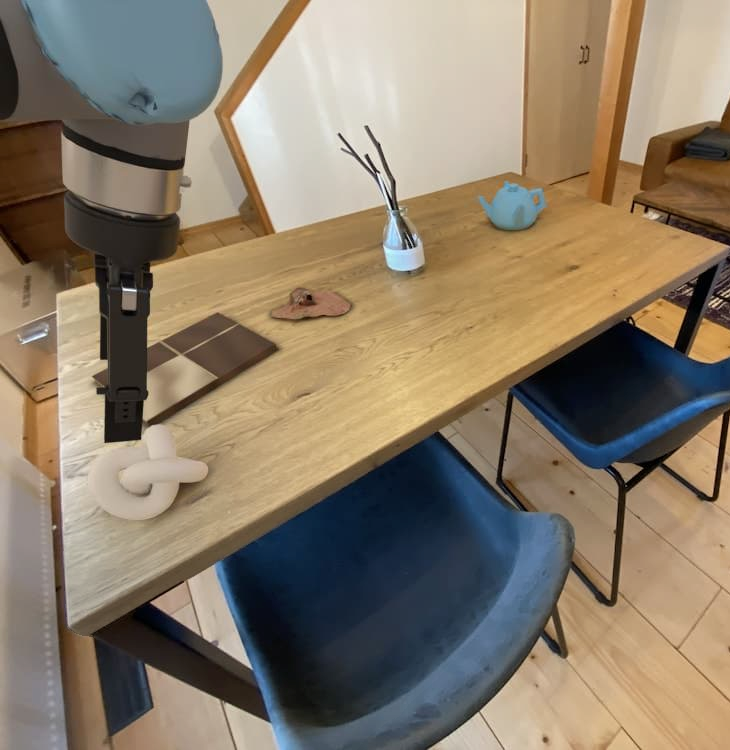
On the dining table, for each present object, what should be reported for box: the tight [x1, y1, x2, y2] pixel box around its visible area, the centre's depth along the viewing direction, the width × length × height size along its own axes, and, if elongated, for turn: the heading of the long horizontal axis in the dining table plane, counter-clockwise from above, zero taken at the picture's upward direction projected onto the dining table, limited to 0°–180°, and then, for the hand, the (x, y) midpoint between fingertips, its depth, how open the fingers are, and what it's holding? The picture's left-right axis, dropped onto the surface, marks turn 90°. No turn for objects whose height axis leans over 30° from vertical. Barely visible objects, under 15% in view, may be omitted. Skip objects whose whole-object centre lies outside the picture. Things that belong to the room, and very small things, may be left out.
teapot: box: [477, 180, 547, 231], centre depth 125 cm, size 15×15×11 cm
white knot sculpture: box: [86, 423, 209, 521], centre depth 59 cm, size 11×12×9 cm
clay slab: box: [271, 287, 352, 320], centre depth 95 cm, size 15×13×3 cm
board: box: [91, 312, 279, 427], centre depth 82 cm, size 24×20×2 cm
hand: (119, 395), depth 46 cm, fingers open, 13 cm apart
